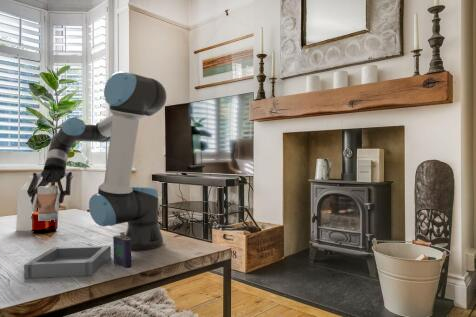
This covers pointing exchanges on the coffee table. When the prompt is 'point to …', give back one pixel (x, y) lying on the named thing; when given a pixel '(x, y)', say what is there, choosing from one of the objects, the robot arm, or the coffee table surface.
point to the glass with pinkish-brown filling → (47, 203)
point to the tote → (68, 262)
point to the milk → (25, 207)
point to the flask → (122, 250)
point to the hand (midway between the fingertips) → (45, 209)
